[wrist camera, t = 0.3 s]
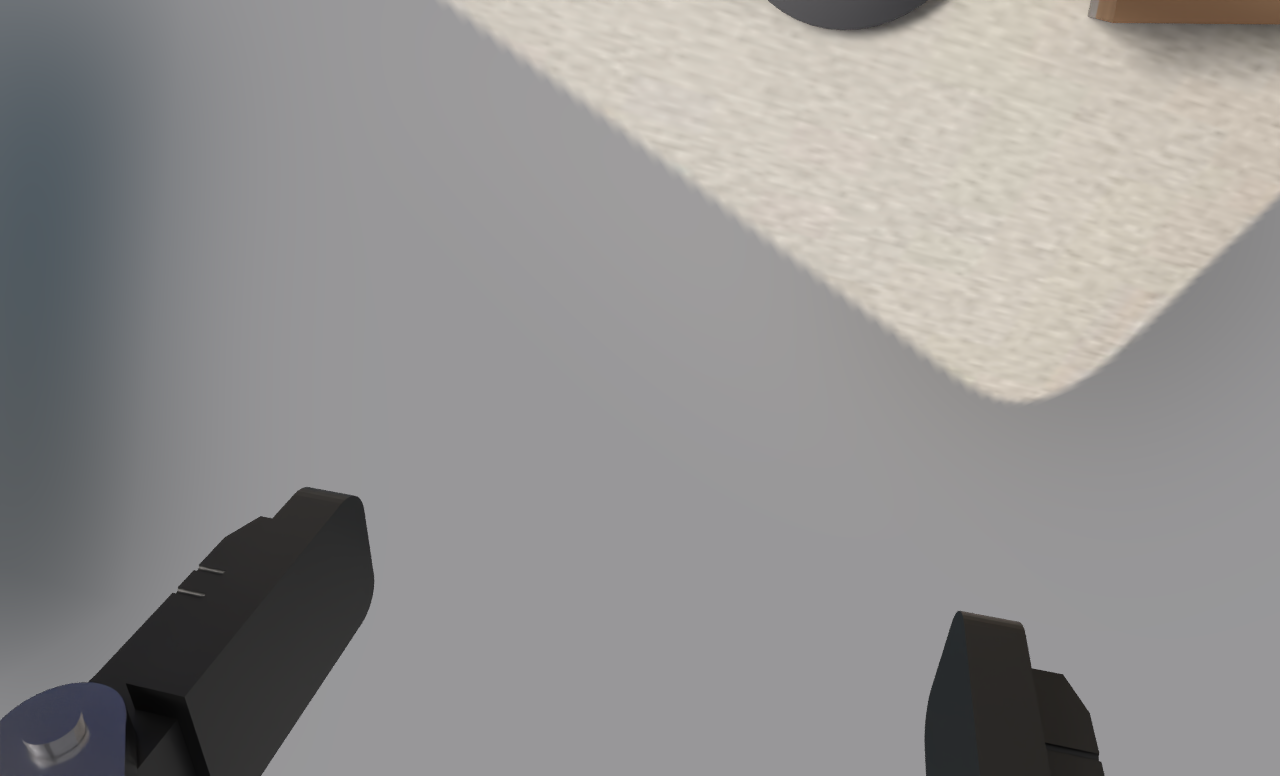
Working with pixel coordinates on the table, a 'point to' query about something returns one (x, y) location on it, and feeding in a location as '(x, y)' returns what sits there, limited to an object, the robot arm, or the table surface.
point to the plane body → (1187, 11)
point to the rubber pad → (846, 12)
